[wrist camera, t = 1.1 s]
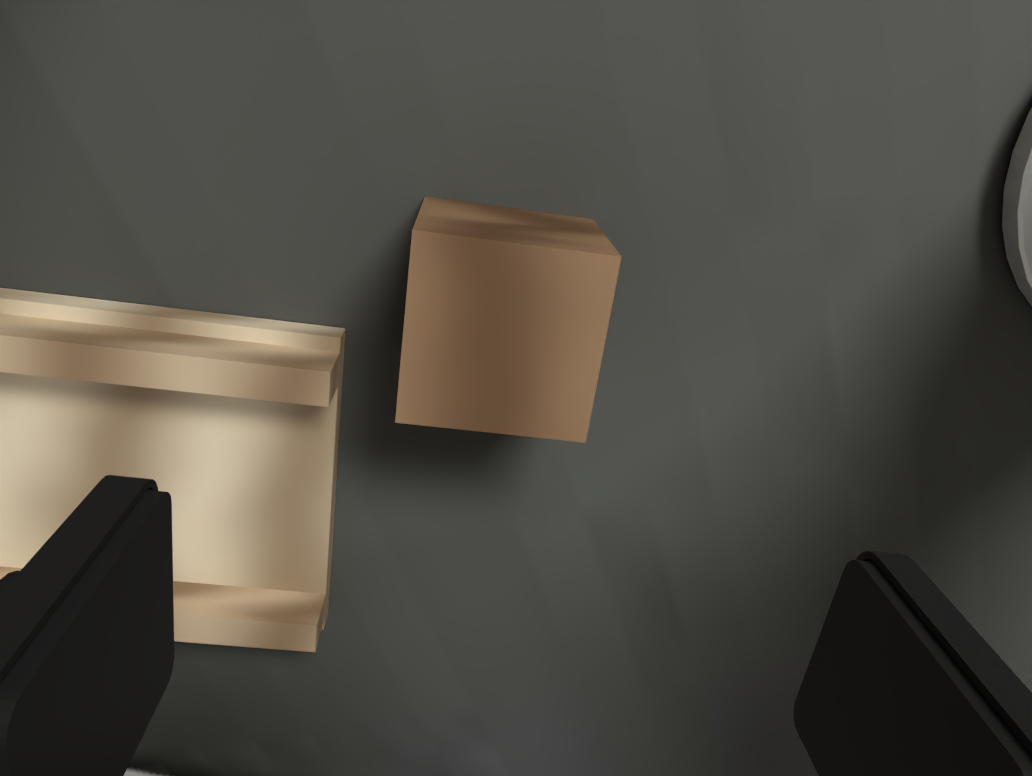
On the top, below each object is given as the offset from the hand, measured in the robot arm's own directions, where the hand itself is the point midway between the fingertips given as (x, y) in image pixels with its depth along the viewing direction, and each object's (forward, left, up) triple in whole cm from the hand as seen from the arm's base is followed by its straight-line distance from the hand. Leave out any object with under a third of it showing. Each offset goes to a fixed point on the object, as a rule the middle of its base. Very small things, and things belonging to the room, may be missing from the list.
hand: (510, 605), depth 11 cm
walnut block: (0, 0, -17) cm, 17 cm away
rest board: (+12, +8, -17) cm, 22 cm away
